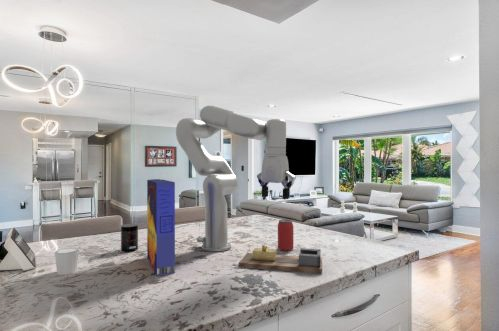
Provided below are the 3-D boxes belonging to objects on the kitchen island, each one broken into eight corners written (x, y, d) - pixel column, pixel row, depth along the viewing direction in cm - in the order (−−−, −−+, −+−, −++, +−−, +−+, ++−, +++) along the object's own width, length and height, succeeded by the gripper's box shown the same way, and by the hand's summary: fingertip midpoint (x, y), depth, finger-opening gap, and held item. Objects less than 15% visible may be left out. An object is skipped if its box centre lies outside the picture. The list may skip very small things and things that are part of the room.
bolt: (252, 259, 105) (252, 246, 105) (255, 256, 109) (255, 243, 109) (274, 260, 103) (274, 247, 103) (276, 257, 107) (276, 244, 107)
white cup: (61, 277, 93) (61, 254, 93) (50, 273, 97) (50, 251, 97) (83, 270, 99) (83, 249, 99) (72, 267, 103) (72, 246, 103)
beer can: (293, 251, 121) (292, 222, 121) (276, 250, 122) (276, 221, 122) (293, 247, 127) (293, 219, 127) (278, 246, 128) (278, 218, 128)
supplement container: (132, 247, 128) (132, 223, 128) (141, 249, 124) (141, 225, 124) (117, 250, 123) (117, 225, 123) (125, 253, 119) (125, 227, 119)
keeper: (298, 265, 99) (298, 255, 99) (300, 257, 107) (300, 248, 107) (320, 267, 97) (320, 256, 97) (320, 259, 106) (320, 249, 106)
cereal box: (147, 257, 114) (147, 179, 114) (163, 255, 116) (163, 179, 117) (156, 275, 94) (155, 181, 94) (174, 272, 97) (174, 181, 97)
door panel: (238, 266, 102) (238, 262, 102) (247, 256, 114) (247, 252, 114) (321, 273, 96) (321, 268, 96) (322, 262, 107) (322, 257, 107)
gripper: (251, 152, 114) (251, 196, 114) (289, 151, 103) (288, 200, 103) (263, 153, 120) (263, 195, 120) (300, 152, 109) (300, 199, 109)
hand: (275, 197), depth 112 cm, fingers open, 9 cm apart
